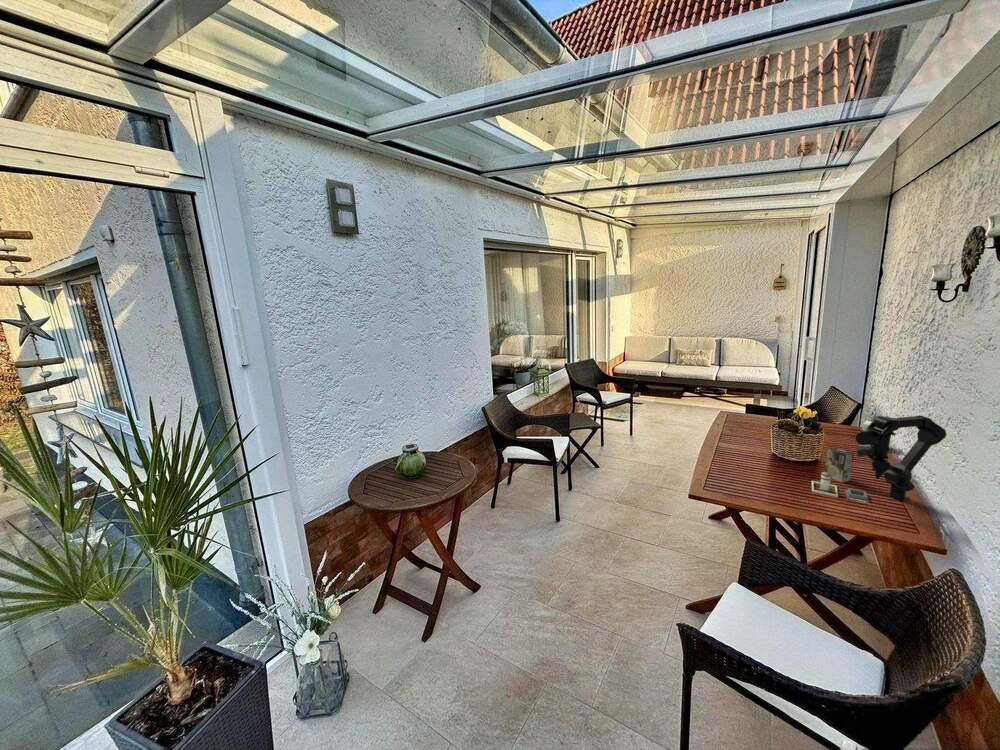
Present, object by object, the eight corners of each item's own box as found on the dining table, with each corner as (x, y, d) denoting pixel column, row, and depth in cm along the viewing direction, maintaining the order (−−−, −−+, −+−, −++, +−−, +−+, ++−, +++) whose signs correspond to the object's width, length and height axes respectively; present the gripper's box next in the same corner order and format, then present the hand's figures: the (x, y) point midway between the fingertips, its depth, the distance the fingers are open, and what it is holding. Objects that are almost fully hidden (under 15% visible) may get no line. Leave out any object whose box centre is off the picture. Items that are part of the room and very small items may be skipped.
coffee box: (850, 481, 216) (854, 453, 212) (842, 484, 214) (846, 455, 210) (831, 474, 224) (835, 446, 221) (823, 476, 222) (827, 448, 219)
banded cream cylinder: (819, 487, 210) (821, 471, 208) (828, 489, 208) (831, 472, 206) (819, 490, 207) (821, 474, 205) (829, 492, 205) (831, 475, 203)
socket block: (845, 491, 206) (845, 486, 206) (866, 495, 202) (867, 490, 201) (846, 499, 198) (847, 494, 198) (868, 504, 194) (869, 499, 193)
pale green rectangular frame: (811, 483, 215) (811, 480, 215) (835, 488, 209) (836, 485, 209) (812, 493, 205) (812, 490, 205) (837, 498, 200) (838, 495, 199)
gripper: (856, 434, 204) (851, 463, 207) (860, 446, 189) (855, 478, 192) (886, 438, 197) (881, 468, 201) (893, 451, 183) (887, 484, 186)
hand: (875, 474), depth 195 cm, fingers open, 9 cm apart
